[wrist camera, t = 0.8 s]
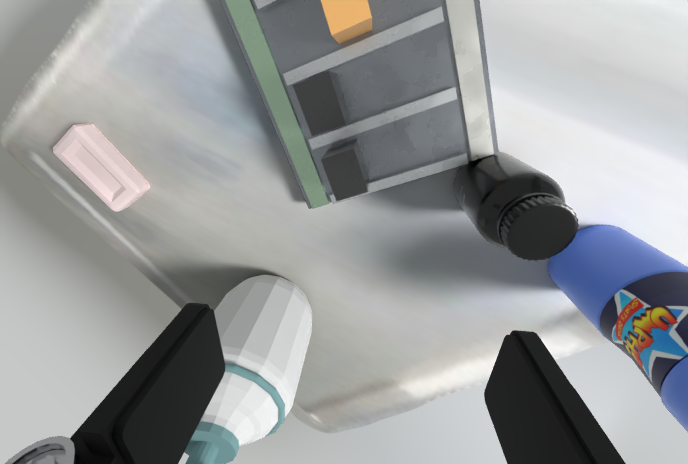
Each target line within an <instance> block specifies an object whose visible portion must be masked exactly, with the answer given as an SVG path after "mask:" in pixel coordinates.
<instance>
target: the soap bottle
mask: <svg viewBox="0 0 688 464" xmlns="http://www.w3.org/2000/svg"><path fill="white" fill-rule="evenodd" d="M214 314H215V318H216V323H217V328H218V333H219V337H220V342H221V347H222V351H223V356H224V361H225V373H224V376H223V378H222V380H221V382H220V384H219V386H218V388H217V390H216V391H215V393H214V395H213V397H212V399H211V401H210V403H209V405H208V407H207V409H206V411H205V413H204V415H203V417H202V418H201V420H200V422H199V424H198V426H197V428H196V430H195V432H194V434H193V436H192V438H191V440H190V442H189V444H188V445H187V447H186V449H185V451H184V452H185V453H186V454H188V455H189V458H188V460H187V462H186V464H226V463H228V462H230V461H233V459H234V457H235V456H236V454H237V452H238V449H239V446H240V445H245V444H248V443H251V442H253V441H256V440H258V439H261V438H263V437H266V436H268V435H270V434H273V433H275V432H276V430H277V429H278V428H279V427H280V425H281V424H282V423H283V422H284V420H285V416H286V415H287V414H288V412H289V411H290V409H291V407H292V405H293V401H294V397H295V394H296V390H297V386H298V382H299V378H300V374H301V371H302V367H303V363H304V359H305V355H306V351H307V347H308V344H309V340H310V336H311V329H312V310H311V307H310V304H309V302H308V300H307V297H306V295H305V294H304V293H303V292H302V291H301V290H300V289H299V288H298V287H297V286H296V285H295V284H294V283H292V282H290V281H288V280H286V279H284V278H282V277H278V276H271V275H260V276H255V277H250V278H248V279H246V280H244V281H243V282H241V283H240V284H239V285H237V286H236V287H234V288H233V289H232V290H231V291H229V292H228V293H227V294H226V295H225V297H224V298H223V300H222V301H221V302H220V304H219V305H218V307H217V308H216V309H215V311H214Z"/></svg>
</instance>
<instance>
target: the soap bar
mask: <svg viewBox="0 0 688 464" xmlns="http://www.w3.org/2000/svg"><path fill="white" fill-rule="evenodd" d="M53 153H54V154H55V155H56V156H57V157H58V158H59V159H60V160H61V161H62V162H63V163H64V164H65V165H66V166H67V167H68V168H69V169H70V170H71V171H72V172H73V173H74V174H75V175H76V176H77V177H78V178H79V179H81V180H82V181H83V182H84V183H85V184H86V185H87V186H88V187H89V188H90V189H91V190H92V191H93V192H94V193H95V194H96V195H97V196H98V197H99V198H100V199H101V200H102V201H103V202H104V203H105V204H106V205H107V206H108V207H110V208H111V209H112V210H113V211H116V212H119V211H121V210H123V209H125V208H127V207H129V206H130V205H131V204H132V203H134V202H135V201H136V200H137V199H138V198H139V197H141V196H142V195H143V194H144V193H145V192H146V191H148V190H149V189H150V186H149V183H148V182H147V181H146V180H145V179H144V178H143V177H142V176H141V174H140V173H139V172H138V171H137V170H136V169H135V168H134V167H133V166H132V165H131V164H130V163H129V162H128V161H127V160H126V159H125V158H124V157H123V156H122V154H121V153H120V152H119V151H118V150H117V149H116V148H115V147H114V146H113V145H112V144H111V143H110V142H109V141H108V140H107V139H106V138H105V137H104V136H103V135H102V133H101V132H100V131H99V130H98V129H97V128H96V127H95V126H94V125H93V124H89V123H84V124H76V125H73V126H72V127H71V128H70V129H69V130H68V131H67V133H66V134H65V135H64V136H63V137H62V138H61V139H60V140H59V142H58V143H57V144H56V145H55V146H54V147H53Z"/></svg>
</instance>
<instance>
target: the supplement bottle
mask: <svg viewBox="0 0 688 464" xmlns="http://www.w3.org/2000/svg"><path fill="white" fill-rule="evenodd" d="M454 192H455V196H456V198H457V200H458V202H459V204H460V205H461V207H462V208H463V210H464V211H465V212H466V214H467V215H468V217H469V218H470V220H471V221H472V222H473V224H474V225H475V227H476V228H477V230H478V231H479V232H480V234H481V235H482V236H483V237H484V238H485V239H486V240H487V241H489V242H490V243H492V244H494V245H496V246H499V247H503V248H508V249H509V250H510V251H511V252H512V253H513V254H515V255H516V256H517V257H521V258H523V259H528V260H535V261H537V260H544V259H546V258H550V257H552V256H555V255H557V254H558V253H560V252H562V251H563V250H564V249H565V248H567V247H568V246H569V244H570V243H572V241H573V239H574V238H575V237H576V233H577V231H578V229H577V228H578V223H577V222H578V219H577V218H576V213H574V212H573V210H572V208H570V207H569V206H567V205H566V204H565V197H564V194H563V191H562V189H561V188H560V186H559V185H558V184H557V182H555V181H554V180H553V179H552V178H550V177H549V176H547V175H545V174H543V173H542V172H540V171H538V170H536V169H534V168H532V167H531V166H529V165H527V164H525V163H523V162H521V161H520V160H518V159H516V158H514V157H512V156H510V155H508V154H506V153H502V152H497V153H494V154H493V155H490V156H487V157H483V158H480V159H477V160H473V161H472V160H470V161H468V164H466V165H463V166H462V167H461V169H460V170H459V172H458V174H457V176H456V179H455V183H454Z"/></svg>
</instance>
